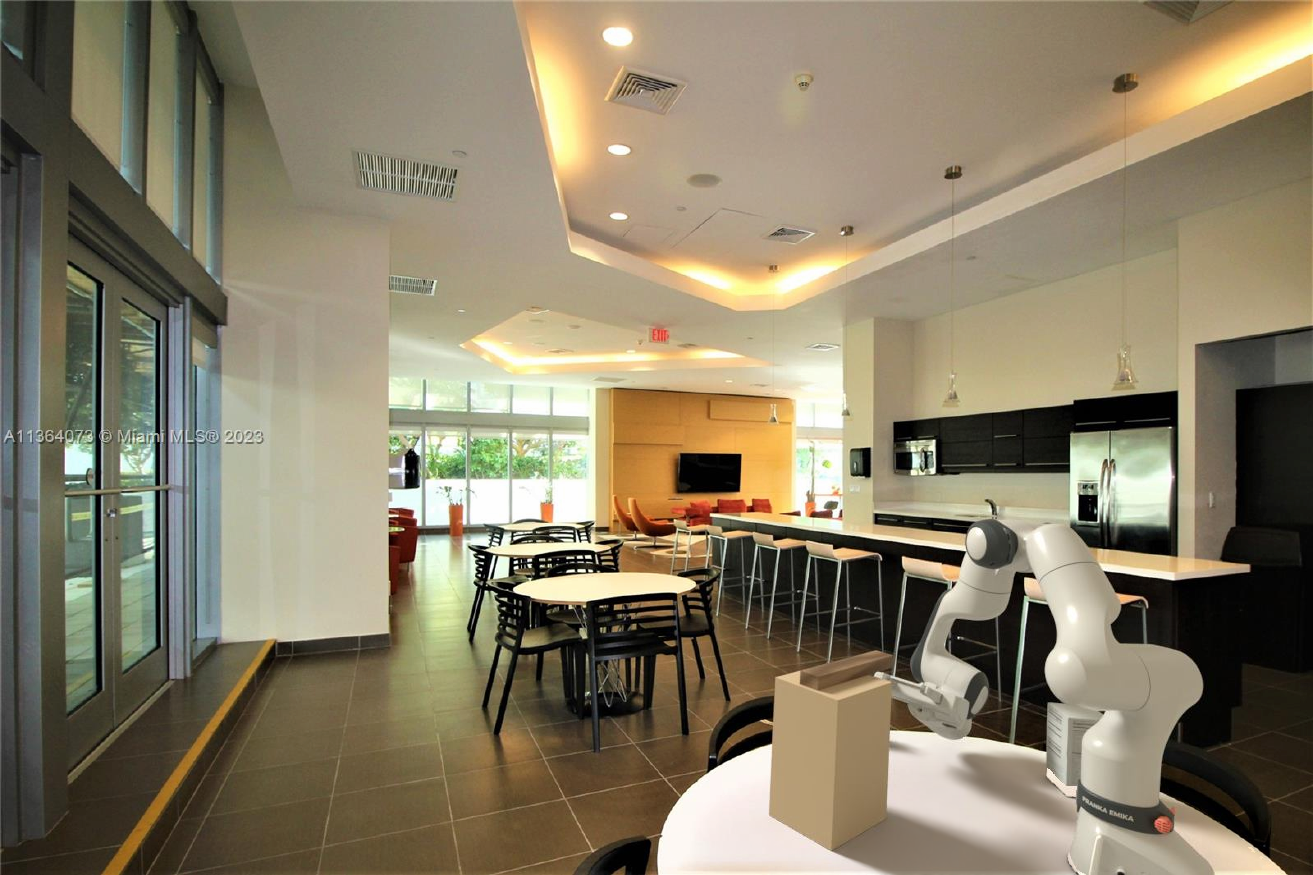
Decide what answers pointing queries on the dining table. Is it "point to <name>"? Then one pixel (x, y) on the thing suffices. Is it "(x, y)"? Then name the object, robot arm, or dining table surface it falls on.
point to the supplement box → (1067, 739)
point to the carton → (830, 757)
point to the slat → (845, 670)
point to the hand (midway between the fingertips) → (903, 682)
